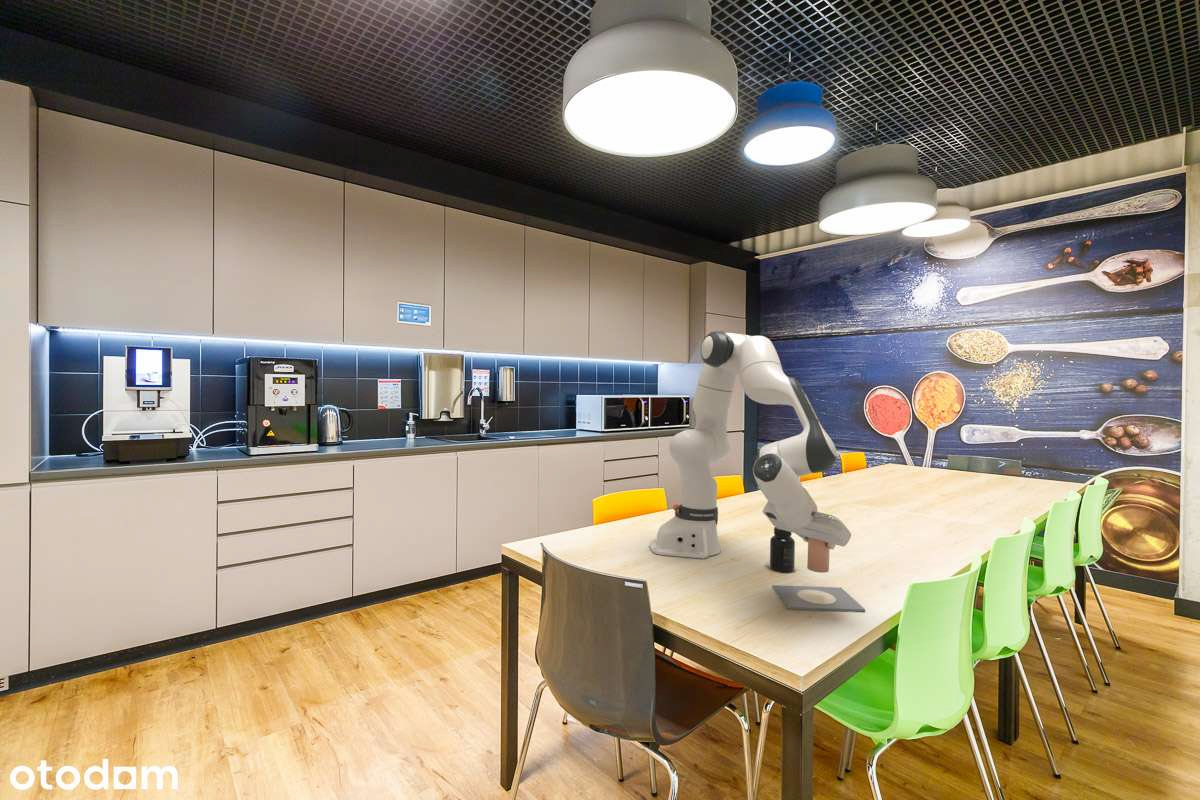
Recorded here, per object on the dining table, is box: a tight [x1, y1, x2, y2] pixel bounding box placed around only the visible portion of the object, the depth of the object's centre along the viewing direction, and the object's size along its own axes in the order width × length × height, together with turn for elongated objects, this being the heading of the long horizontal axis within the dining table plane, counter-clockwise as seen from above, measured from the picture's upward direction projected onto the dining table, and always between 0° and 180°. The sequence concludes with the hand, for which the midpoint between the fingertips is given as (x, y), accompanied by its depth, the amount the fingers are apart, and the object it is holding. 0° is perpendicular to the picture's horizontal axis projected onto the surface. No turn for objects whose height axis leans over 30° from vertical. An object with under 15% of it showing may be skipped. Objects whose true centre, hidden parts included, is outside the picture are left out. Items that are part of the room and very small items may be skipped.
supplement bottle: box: [769, 526, 796, 573], centre depth 159 cm, size 7×7×12 cm
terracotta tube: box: [807, 537, 831, 574], centre depth 137 cm, size 5×5×12 cm
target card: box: [771, 584, 866, 612], centre depth 137 cm, size 18×14×1 cm
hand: (820, 543), depth 137 cm, fingers closed on terracotta tube, 5 cm apart
